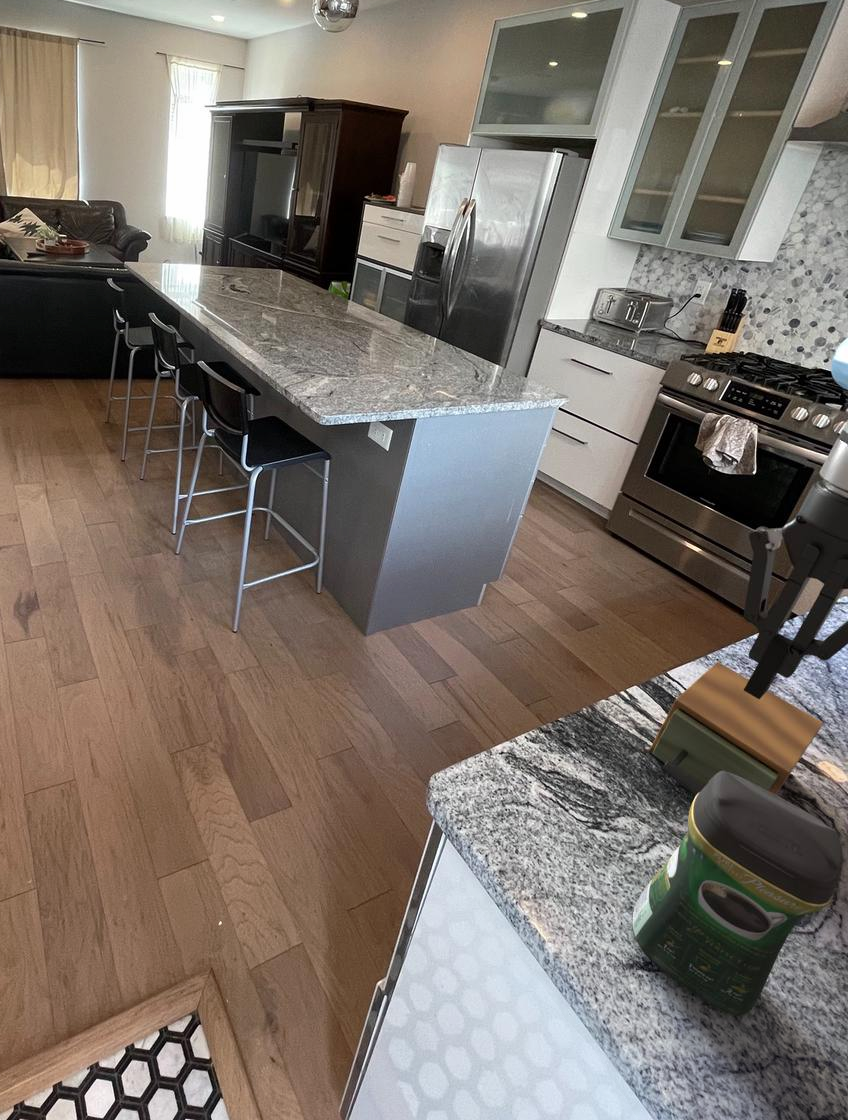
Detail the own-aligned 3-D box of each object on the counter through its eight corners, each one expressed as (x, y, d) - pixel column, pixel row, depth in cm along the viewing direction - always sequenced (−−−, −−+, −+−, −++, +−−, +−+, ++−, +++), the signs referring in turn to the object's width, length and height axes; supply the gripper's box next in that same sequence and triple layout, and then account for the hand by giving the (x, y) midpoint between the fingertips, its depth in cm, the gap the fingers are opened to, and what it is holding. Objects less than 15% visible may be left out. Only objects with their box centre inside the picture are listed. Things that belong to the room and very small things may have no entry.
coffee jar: (752, 959, 57) (856, 819, 50) (747, 1040, 51) (863, 894, 44) (637, 882, 62) (715, 745, 55) (620, 947, 56) (705, 803, 49)
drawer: (732, 845, 66) (760, 801, 64) (633, 771, 74) (655, 728, 71) (782, 773, 77) (808, 732, 74) (691, 714, 84) (713, 675, 81)
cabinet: (754, 827, 70) (789, 772, 67) (648, 751, 78) (675, 699, 75) (790, 773, 78) (823, 722, 75) (691, 710, 86) (717, 661, 83)
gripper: (771, 471, 60) (676, 663, 69) (957, 538, 51) (820, 749, 60) (794, 459, 64) (703, 641, 74) (970, 519, 55) (840, 718, 64)
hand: (755, 690), depth 67 cm, fingers closed
